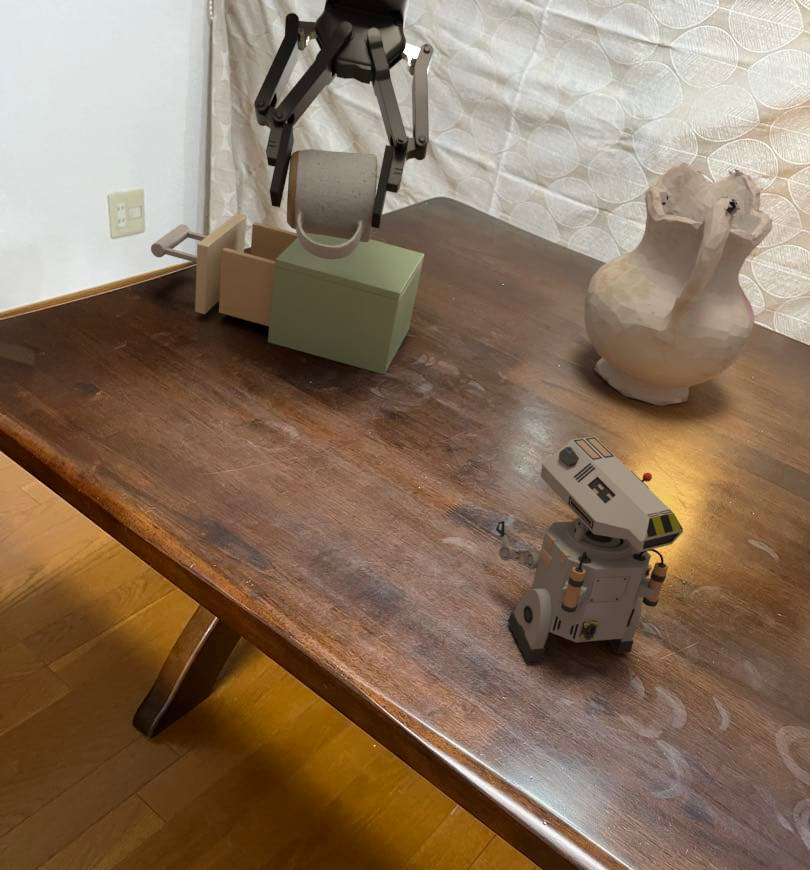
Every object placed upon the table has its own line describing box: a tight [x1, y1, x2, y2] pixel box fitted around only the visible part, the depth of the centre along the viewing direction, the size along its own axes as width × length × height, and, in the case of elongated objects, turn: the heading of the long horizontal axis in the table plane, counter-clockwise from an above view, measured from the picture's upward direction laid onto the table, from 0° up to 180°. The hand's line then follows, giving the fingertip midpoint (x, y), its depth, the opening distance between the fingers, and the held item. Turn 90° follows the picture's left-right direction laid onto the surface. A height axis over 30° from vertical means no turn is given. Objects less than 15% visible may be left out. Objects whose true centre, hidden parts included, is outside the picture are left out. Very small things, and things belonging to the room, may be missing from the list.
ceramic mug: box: [286, 149, 378, 259], centre depth 80 cm, size 11×8×8 cm
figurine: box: [495, 435, 684, 662], centre depth 64 cm, size 9×12×15 cm
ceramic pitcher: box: [583, 161, 773, 407], centre depth 98 cm, size 22×20×25 cm
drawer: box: [150, 212, 298, 327], centre depth 98 cm, size 19×11×8 cm, turn 77°
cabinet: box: [267, 232, 425, 375], centre depth 98 cm, size 14×13×10 cm
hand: (325, 210), depth 77 cm, fingers closed on ceramic mug, 8 cm apart
